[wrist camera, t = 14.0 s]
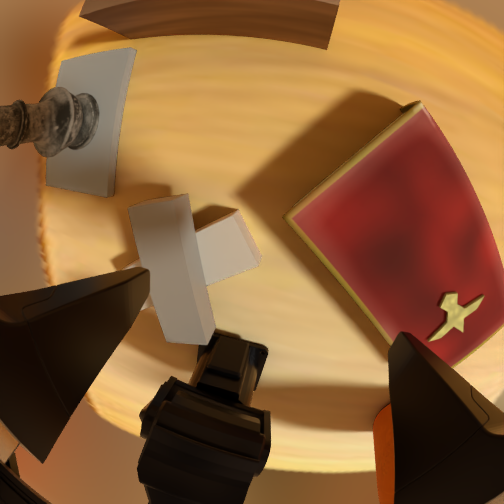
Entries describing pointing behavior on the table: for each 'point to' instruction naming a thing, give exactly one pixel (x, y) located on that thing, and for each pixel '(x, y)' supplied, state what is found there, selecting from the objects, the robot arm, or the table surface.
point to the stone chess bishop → (51, 122)
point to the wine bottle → (384, 455)
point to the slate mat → (110, 117)
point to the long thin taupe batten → (218, 18)
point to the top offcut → (173, 268)
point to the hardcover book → (409, 238)
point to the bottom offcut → (221, 250)
